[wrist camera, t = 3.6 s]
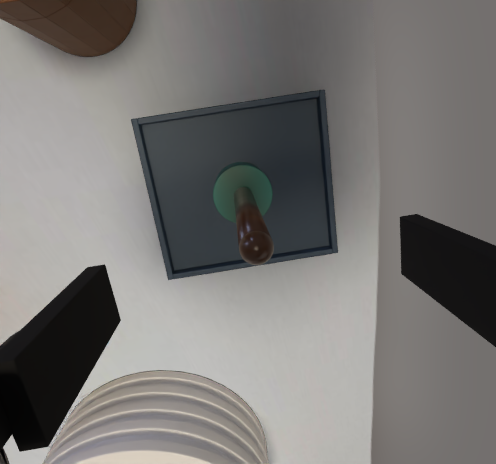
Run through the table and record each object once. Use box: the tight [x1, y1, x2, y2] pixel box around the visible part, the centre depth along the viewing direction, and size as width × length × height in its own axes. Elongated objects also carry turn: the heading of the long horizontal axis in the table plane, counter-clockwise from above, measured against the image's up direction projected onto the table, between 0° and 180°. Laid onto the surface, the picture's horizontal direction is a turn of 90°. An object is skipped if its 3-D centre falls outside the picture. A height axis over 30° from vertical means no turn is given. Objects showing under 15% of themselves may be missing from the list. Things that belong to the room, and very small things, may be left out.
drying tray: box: [131, 90, 338, 280], centre depth 37 cm, size 19×17×2 cm
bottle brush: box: [213, 162, 274, 265], centre depth 27 cm, size 6×6×21 cm
